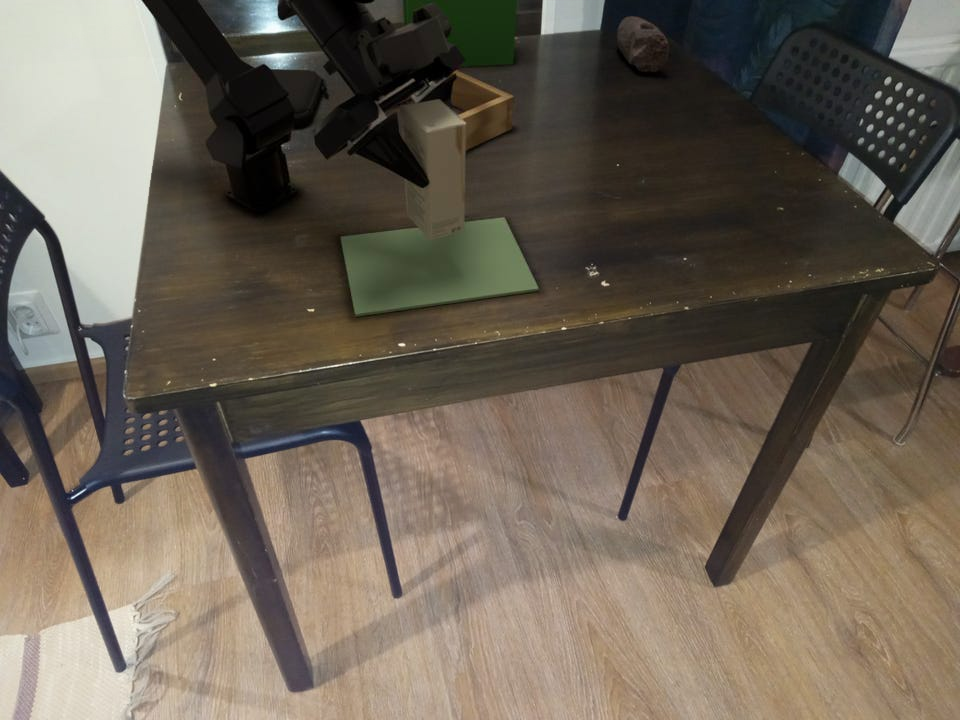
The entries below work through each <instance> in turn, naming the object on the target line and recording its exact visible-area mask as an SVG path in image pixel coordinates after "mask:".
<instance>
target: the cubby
mask: <svg viewBox="0 0 960 720" xmlns="http://www.w3.org/2000/svg"><path fill="white" fill-rule="evenodd" d="M455 73H456V75H457V79H456V80H455V81H454V82H453V87H452V94H451V102H452V107H455V108H457V109H460V110H461V111H463V112H461V113H460V114H457V115H458V116H459V117H460V118H462V119H463V120H464V122H466V151H468V150H470V149H472V148H474V147H476V146H479V145H481V144H483V143H485V142H487V141H489V140H491V139H493V138H496V137H498V136H500V135H502V134H504V133H507V132H508V131H511V130H512V129H513V118H514V117H513V116H514V103H515V102H514V101H515V96H514V95H512V94H510V93H508V92H506V91H503V90H502V89H499V88H497V87H495V86H492V85H491V84H487V83H486V82H483V81H481V80H479V79H477V78H475V77H472V76H470V75H468V74H466V73H464V72H462V71H459V70H458V69H457V70H456V71H455V72H454V73H452V74H451V75H450V76H452V75H453V74H455ZM450 76H449V77H450ZM449 77H448V78H449ZM382 97H384V96H382ZM382 97H381V98H382ZM381 98H379V99H381ZM410 100H412V99H411V98H410V97H408V98H407V99H405V100H404V101H402V102H401V103H399V104H402V103H404V102H407V101H410ZM399 104H398V105H399Z"/></svg>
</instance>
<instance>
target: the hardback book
mask: <svg viewBox="0 0 960 720" xmlns="http://www.w3.org/2000/svg"><path fill="white" fill-rule="evenodd" d="M434 2H435V3H436V5H437V6H438V7H439V8H440V10H441V11H442V12H443V13H444V15H445V16H446V17H447V20H448V21H449V22H450V23H451V25H452V29H451V33H450V35H449V37H447V38H446V41H447V43H451V44H454V45H456V46H457V47H458V49H459V50H460V52H461V53H462V55H463V56H464V58H465V59H466V62H465V63H464V64H463V65H462V66H460V67H459V68H462V67H464V68H465V67H466V68H467V67H484V66H487V67H488V66H505V65H514V57H515V45H516V44H515V43H516V27H517V13H518V0H402V14H403V17H402V18H403V27H404V26H406V25H408V24H410V23H413V12H414V11H415V10H417V9H419V8H421V7H422V6H425V5H428V4H431V3H434Z"/></svg>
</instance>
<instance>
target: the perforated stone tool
mask: <svg viewBox="0 0 960 720" xmlns="http://www.w3.org/2000/svg"><path fill="white" fill-rule="evenodd" d="M616 41H617V47H618V50H619V51H620V53H621V55H623V57H624V58H625V60H626V61H627V62H628V64H629V65H631V66H633V67H636V69H637V71H639V72H641V73H649V72H650V73H656V72H659V71H660V70H662V69H663V68H665V65H666V63H667V61H668V57H669V50H670V49H669V47H670V45H669V41H668V39H667V37H666V36H665V35H664V33H663V32H662V31H661V30H660V29H659V28H658V27H657V26H656V25H655V24H653V23H652V22H650V21H648V20H646V19H644V18H642V17H639V16H633V15H631V16H626V17H624V18H623V19H621V21H620V23H619V25H618V27H617V32H616Z"/></svg>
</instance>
